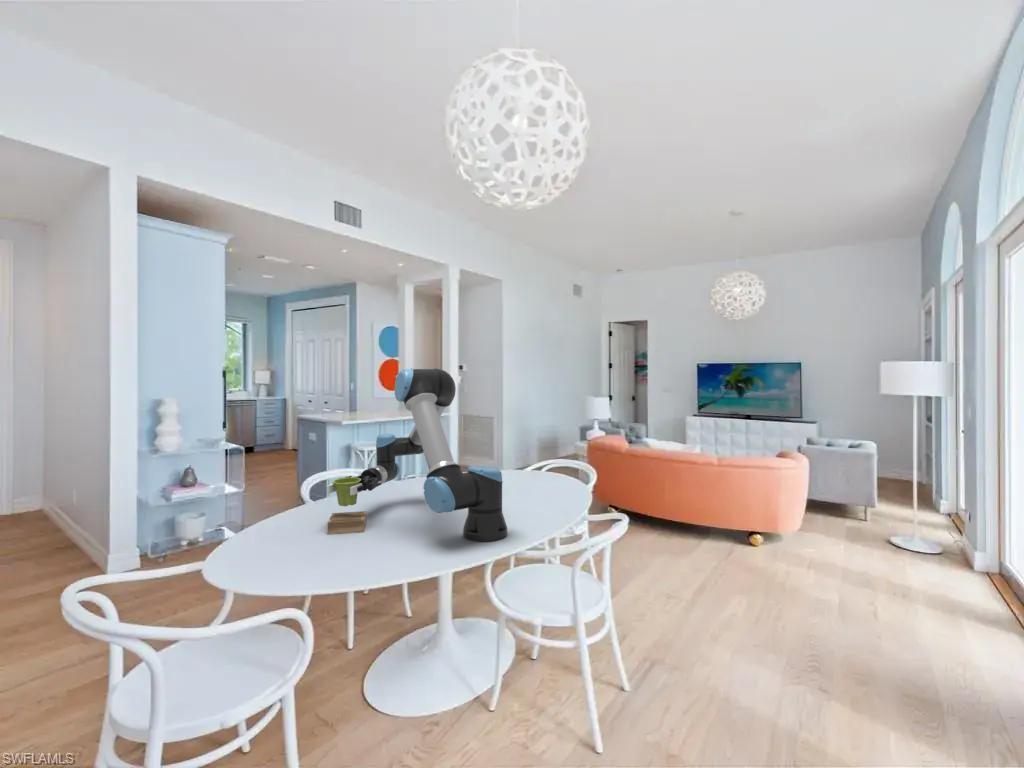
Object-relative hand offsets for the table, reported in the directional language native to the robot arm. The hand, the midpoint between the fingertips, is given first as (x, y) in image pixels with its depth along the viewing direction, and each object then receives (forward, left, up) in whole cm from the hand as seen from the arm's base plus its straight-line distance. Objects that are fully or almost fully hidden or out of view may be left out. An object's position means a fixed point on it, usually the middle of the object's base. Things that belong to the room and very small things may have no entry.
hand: (339, 490), depth 175 cm
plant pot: (+4, -2, -6) cm, 8 cm away
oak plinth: (+4, -2, -14) cm, 15 cm away
